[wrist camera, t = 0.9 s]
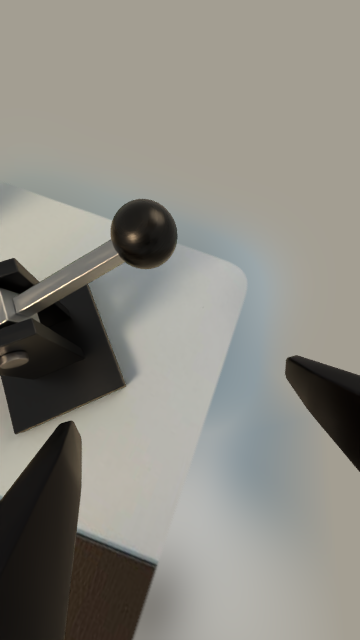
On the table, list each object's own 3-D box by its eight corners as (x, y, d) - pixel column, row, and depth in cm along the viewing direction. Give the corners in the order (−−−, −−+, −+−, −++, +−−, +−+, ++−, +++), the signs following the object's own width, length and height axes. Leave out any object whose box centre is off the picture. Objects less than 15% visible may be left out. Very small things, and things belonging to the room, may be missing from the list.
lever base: (84, 275, 24) (38, 201, 15) (126, 386, 21) (100, 377, 12) (-9, 307, 23) (-125, 244, 13) (22, 432, 20) (-100, 463, 10)
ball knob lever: (169, 213, 15) (148, 169, 12) (193, 259, 14) (179, 227, 11) (6, 309, 17) (-54, 296, 13) (18, 355, 16) (-42, 354, 13)
